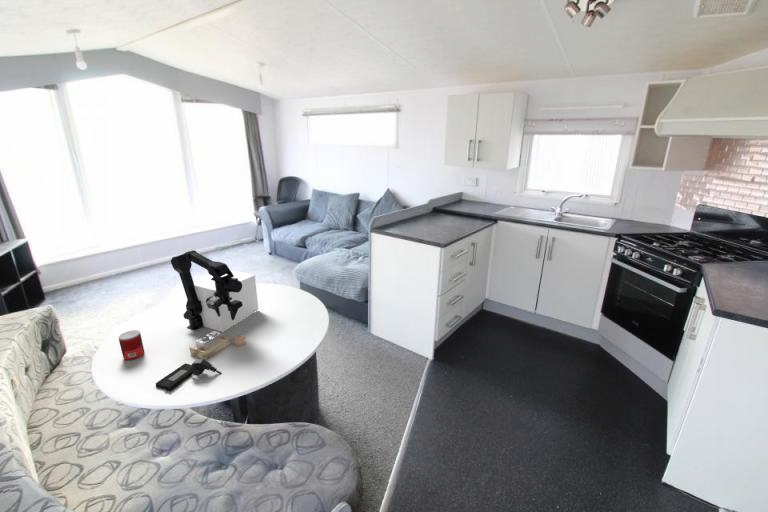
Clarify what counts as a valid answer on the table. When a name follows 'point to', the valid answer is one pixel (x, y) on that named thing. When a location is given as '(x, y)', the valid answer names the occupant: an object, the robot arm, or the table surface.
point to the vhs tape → (175, 378)
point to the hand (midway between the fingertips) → (226, 318)
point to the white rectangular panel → (246, 296)
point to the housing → (209, 341)
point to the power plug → (201, 367)
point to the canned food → (131, 345)
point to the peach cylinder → (239, 340)
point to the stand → (210, 349)
